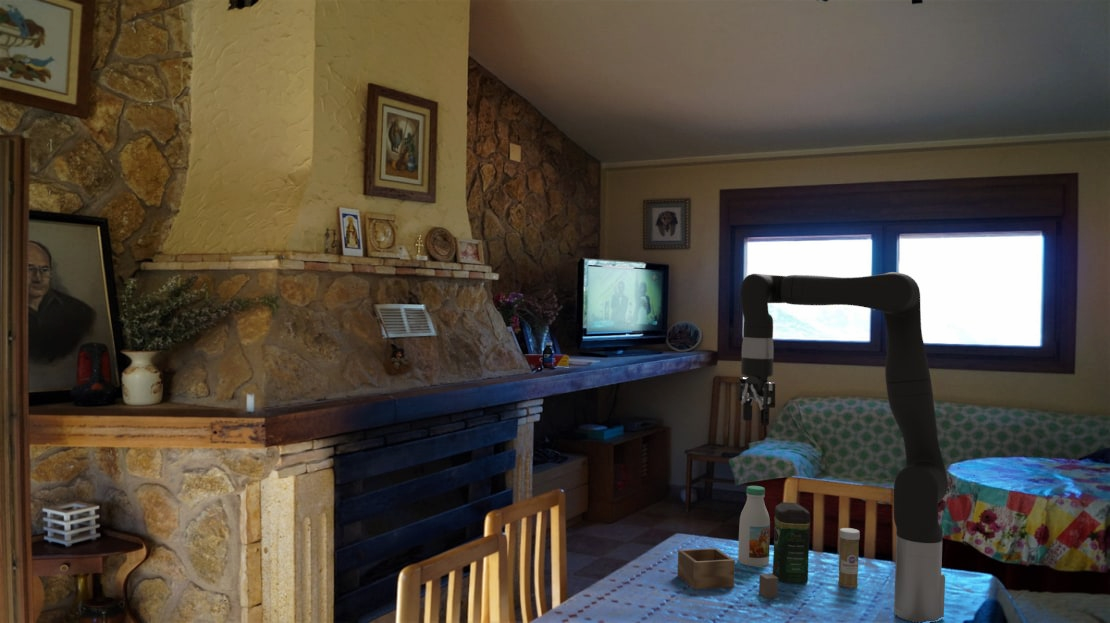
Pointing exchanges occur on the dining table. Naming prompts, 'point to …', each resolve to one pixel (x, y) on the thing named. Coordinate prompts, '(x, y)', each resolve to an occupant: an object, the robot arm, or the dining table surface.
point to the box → (706, 568)
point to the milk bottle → (754, 529)
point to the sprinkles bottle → (848, 557)
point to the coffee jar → (791, 543)
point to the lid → (768, 586)
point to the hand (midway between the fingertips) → (755, 422)
